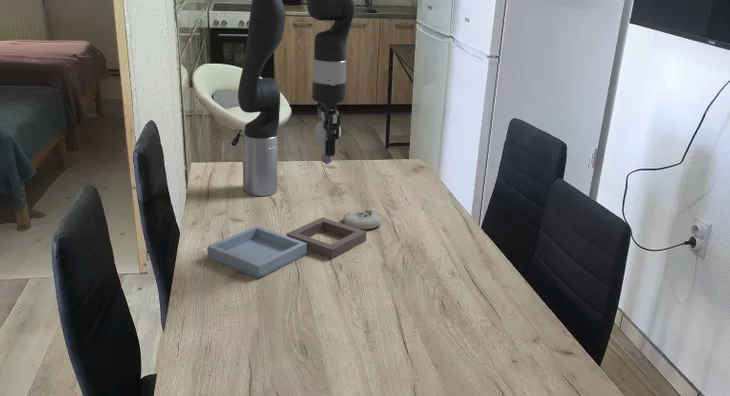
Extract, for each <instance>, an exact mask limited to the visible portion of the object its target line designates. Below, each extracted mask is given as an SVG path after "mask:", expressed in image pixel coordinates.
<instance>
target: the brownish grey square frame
mask: <svg viewBox="0 0 730 396" xmlns="http://www.w3.org/2000/svg"><path fill="white" fill-rule="evenodd" d="M323 231H324V232H327V233H330V234H333V235H335V236H338V237H341V238H340V239H339V240H337V241H335V242H332V243H331V244H330V243H327V242H325V241H321V240H319V239H316V238H313V237H312V236H314V235H317V234H319V233H321V232H323ZM286 236H288V237H290V238H293V239H296V240H299V241H302V242H305V243H307V252H309V253H310V252H311V253H312V254H316V255H317V256H321V257H324V258H327V259H330V260H333V259H336V258H337V257H339V256H341V255H343V254H344V253H346V252H348V251H349V250H352V249H353V248H355V247H357V246H359V245H361V244H363V243H364V242H366V241H367V231H366V230H362V229H357V228H354V227H351V226H348V225H345V224H344V223H342V222H338V221H334V220H331V219H328V218H325V217H320V218H318V219H316V220H314V221H312V222H309V223H307V224H305V225H303V226H301V227H297V228H296V229H293V230H291V231H289V232H287V233H286Z"/></svg>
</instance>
